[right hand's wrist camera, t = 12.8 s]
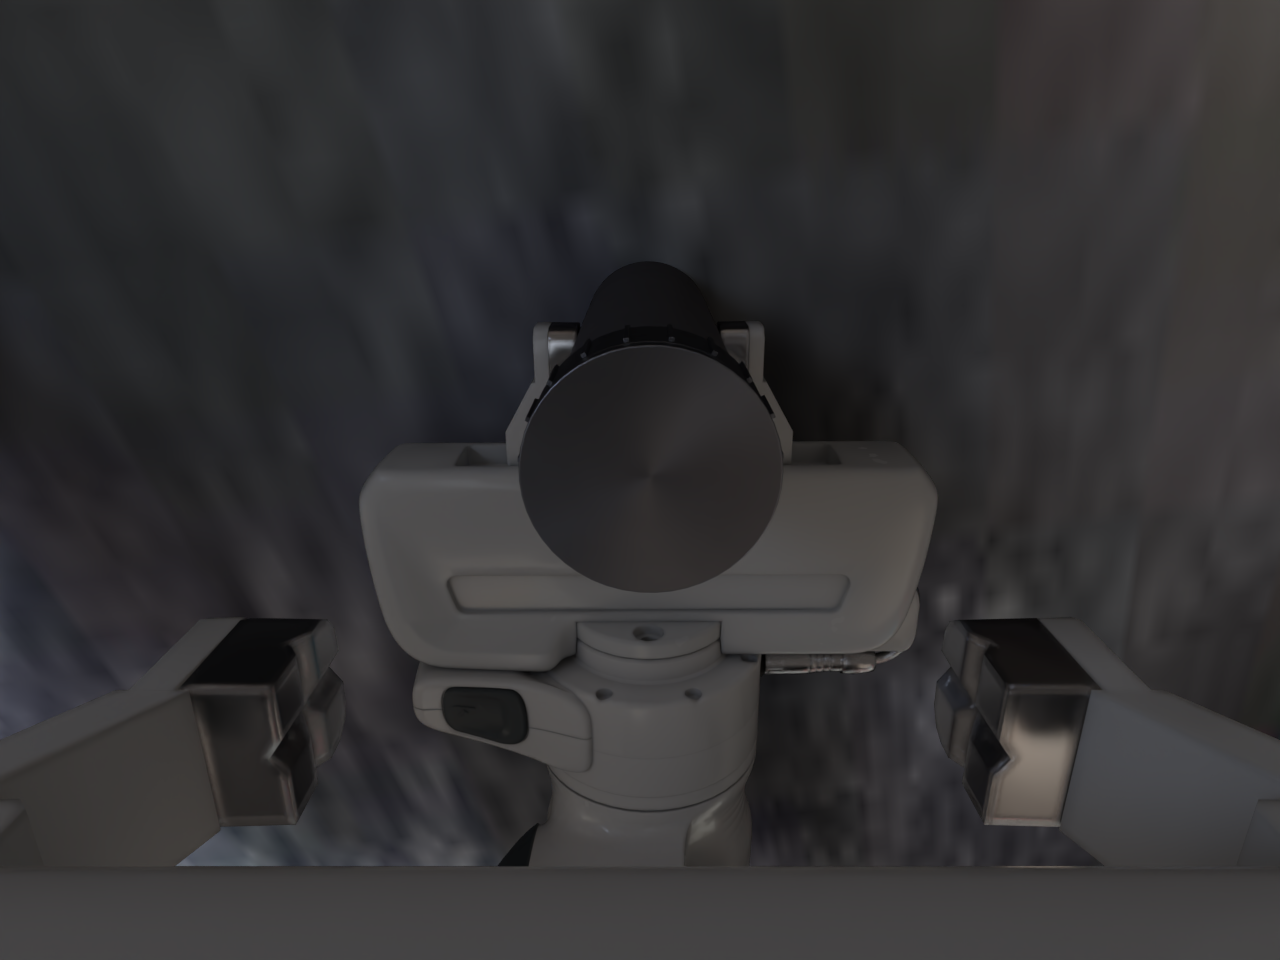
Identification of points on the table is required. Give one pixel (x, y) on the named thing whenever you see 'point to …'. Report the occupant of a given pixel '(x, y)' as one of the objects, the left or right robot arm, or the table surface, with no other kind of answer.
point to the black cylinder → (647, 303)
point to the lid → (650, 460)
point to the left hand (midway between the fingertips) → (647, 323)
